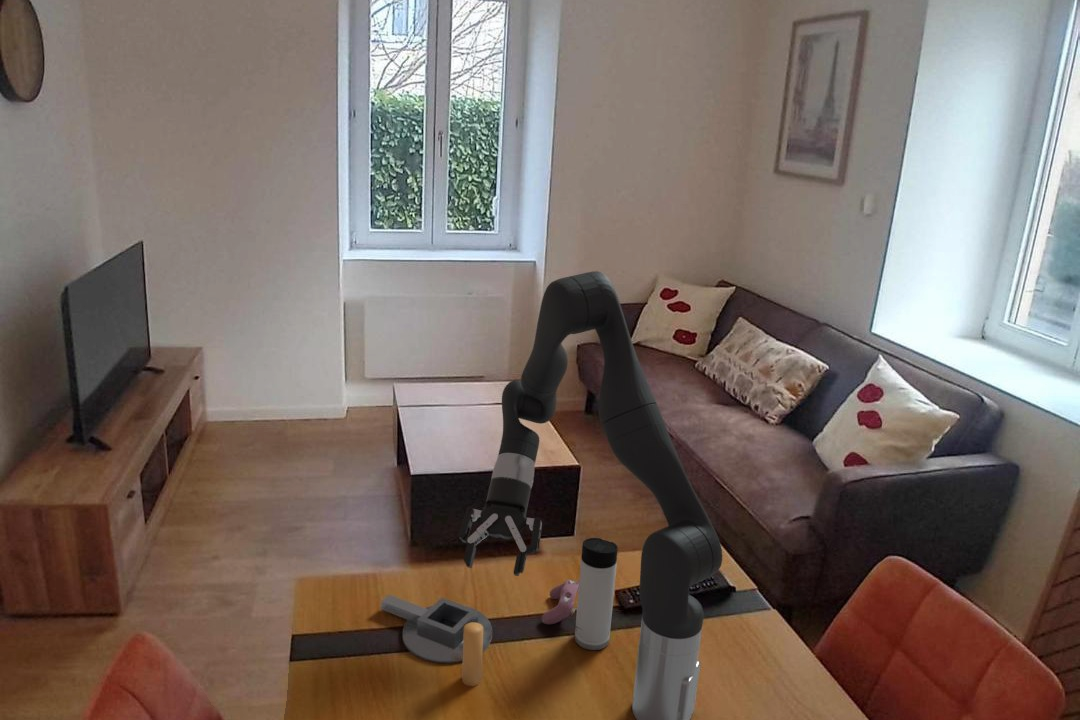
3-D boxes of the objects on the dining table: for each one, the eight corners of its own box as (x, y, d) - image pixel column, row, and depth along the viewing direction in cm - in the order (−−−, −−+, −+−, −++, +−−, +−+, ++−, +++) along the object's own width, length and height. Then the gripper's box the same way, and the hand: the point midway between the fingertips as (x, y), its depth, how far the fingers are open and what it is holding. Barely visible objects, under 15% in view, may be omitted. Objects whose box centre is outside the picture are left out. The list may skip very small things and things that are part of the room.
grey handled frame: (508, 625, 151) (509, 606, 150) (461, 675, 138) (462, 655, 136) (410, 588, 160) (410, 571, 159) (357, 632, 147) (357, 613, 146)
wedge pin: (484, 677, 137) (487, 626, 134) (474, 688, 135) (476, 636, 132) (468, 670, 139) (470, 620, 136) (458, 681, 136) (459, 630, 133)
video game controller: (559, 635, 152) (578, 609, 149) (538, 622, 152) (557, 596, 149) (568, 605, 161) (586, 580, 159) (548, 592, 161) (566, 567, 159)
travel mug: (567, 644, 147) (575, 545, 141) (583, 625, 153) (591, 529, 146) (599, 656, 144) (609, 556, 138) (614, 636, 150) (624, 539, 144)
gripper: (470, 470, 148) (448, 558, 141) (547, 481, 145) (529, 572, 138) (477, 484, 154) (457, 569, 147) (551, 495, 152) (534, 582, 145)
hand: (492, 570), depth 143 cm, fingers open, 8 cm apart
